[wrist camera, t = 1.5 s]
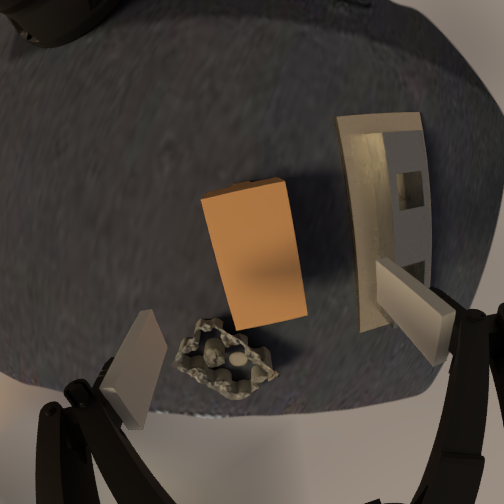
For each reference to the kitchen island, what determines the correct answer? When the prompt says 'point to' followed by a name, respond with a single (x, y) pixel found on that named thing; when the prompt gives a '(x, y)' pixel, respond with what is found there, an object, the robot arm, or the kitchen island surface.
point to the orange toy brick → (256, 251)
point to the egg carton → (216, 357)
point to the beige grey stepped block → (386, 202)
